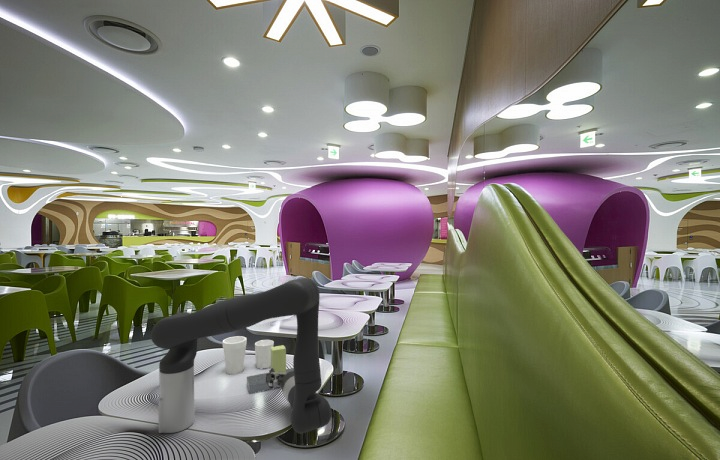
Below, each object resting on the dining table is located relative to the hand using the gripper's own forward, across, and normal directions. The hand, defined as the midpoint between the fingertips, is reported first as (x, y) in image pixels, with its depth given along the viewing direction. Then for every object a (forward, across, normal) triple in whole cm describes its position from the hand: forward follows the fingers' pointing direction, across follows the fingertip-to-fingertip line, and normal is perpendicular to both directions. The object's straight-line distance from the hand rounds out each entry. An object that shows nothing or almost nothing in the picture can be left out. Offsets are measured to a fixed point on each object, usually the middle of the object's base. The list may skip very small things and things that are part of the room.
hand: (283, 368), depth 118 cm
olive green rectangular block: (+11, 0, +9) cm, 14 cm away
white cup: (+30, +2, +10) cm, 31 cm away
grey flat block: (+11, 0, +10) cm, 14 cm away
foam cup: (+30, +14, +10) cm, 34 cm away
